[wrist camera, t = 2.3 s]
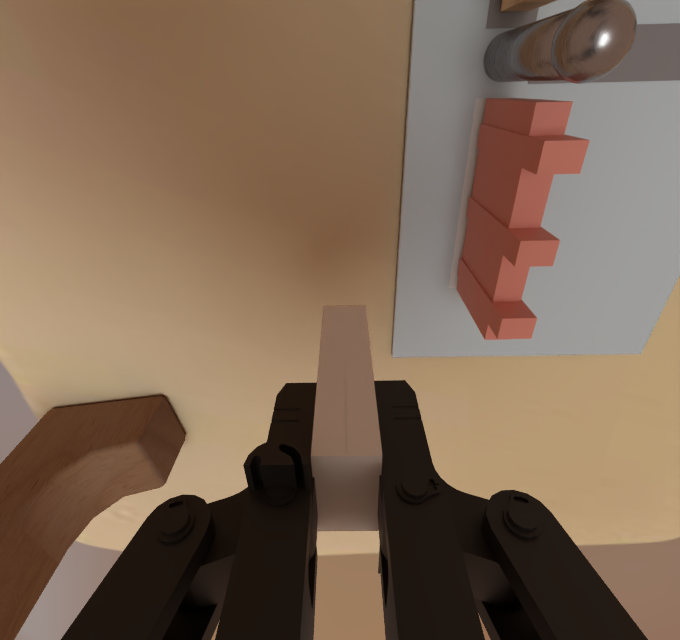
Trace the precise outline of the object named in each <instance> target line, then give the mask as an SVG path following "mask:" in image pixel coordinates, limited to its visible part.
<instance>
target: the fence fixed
mask: <svg viewBox="0 0 680 640" xmlns="http://www.w3.org/2000/svg"><path fill="white" fill-rule="evenodd" d="M554 1H556V0H502V5H501V12H508V11H532V10H534V9H537V8H539V7H542V6H544V5H547V4H549V3H551V2H554Z"/></svg>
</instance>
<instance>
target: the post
mask: <svg viewBox="0 0 680 640" xmlns="http://www.w3.org/2000/svg"><path fill="white" fill-rule="evenodd" d="M636 31H637V18H636V14H635V11H634V9H633V7H632V6H631V4H630V3H629V2H628V1H627V0H586V1H584V2H582V3H581V4H579V5H578V6H577V7H575V8H573V9H570V10H567V11H565V12H562V13H559V14H556V15H553V16H550V17H547V18H544V19H541V20H538V21H535V22H532V23H529V24H526V25H523V26H520V27H517V28H514V29H511V30H508V31H505V32H503V33H500V34H499V35H497V36H496V37H495V38H494V39H493V40H492V41H491V42H490V44H489V45H488V47H487V49H486V52H485V55H484V69H485V72H486V74H487V76H488V77H489V78H490V79H492V80H493V81H496V82H523V81H556V80H566V81H568V82H570V83H576V84H583V83H590V82H593V81H596V80H598V79H601V78H602V77H604V76H606V75H607V74H609V73H610V72H612V71H613V70H614V69H615V68H616V67H617V66H618V65H619V64H620V63H621V62H622V61H623V60H624V58H625V57H626V56H627V54H628V53H629V51H630V49H631V47H632V45H633V42H634V40H635V36H636Z"/></svg>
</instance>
